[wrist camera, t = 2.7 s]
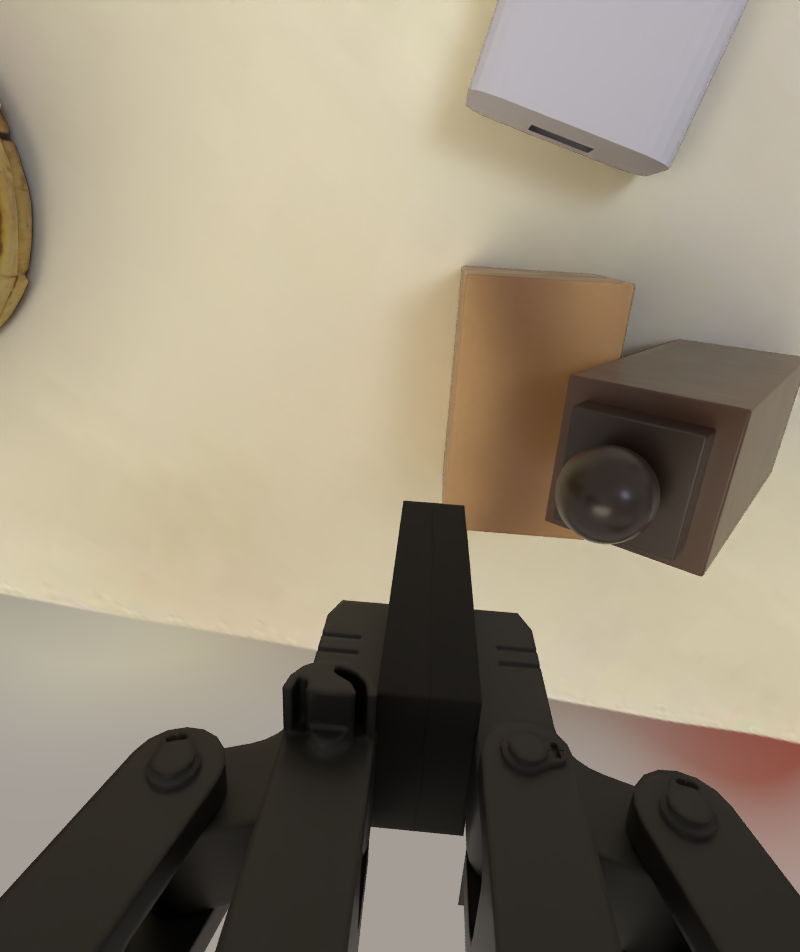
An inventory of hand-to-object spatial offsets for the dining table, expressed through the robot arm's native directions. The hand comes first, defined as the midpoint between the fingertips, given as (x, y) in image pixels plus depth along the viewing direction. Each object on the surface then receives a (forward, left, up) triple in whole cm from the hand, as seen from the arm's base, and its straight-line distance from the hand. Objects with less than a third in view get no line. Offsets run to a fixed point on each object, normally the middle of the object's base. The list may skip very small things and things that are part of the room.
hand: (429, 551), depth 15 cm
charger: (-7, -19, -20) cm, 29 cm away
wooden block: (-4, 0, -20) cm, 20 cm away
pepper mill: (-11, 0, -20) cm, 23 cm away
